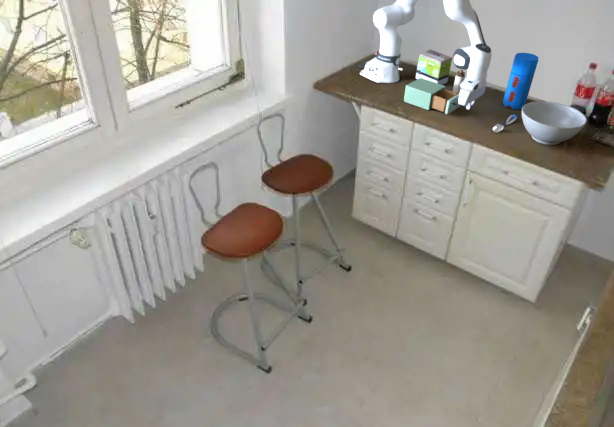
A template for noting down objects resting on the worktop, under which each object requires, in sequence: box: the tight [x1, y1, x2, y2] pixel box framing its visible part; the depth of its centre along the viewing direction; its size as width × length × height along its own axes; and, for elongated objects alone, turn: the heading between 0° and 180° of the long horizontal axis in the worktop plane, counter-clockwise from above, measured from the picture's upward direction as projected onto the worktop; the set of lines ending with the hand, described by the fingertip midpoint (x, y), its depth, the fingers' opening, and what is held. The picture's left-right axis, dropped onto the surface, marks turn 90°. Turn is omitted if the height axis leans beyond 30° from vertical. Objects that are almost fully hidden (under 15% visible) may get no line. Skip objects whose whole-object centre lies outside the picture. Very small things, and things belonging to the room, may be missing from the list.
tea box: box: [415, 49, 453, 85], centre depth 282 cm, size 15×10×15 cm, turn 41°
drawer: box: [430, 88, 463, 115], centre depth 255 cm, size 18×12×7 cm
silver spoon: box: [492, 114, 518, 134], centre depth 244 cm, size 20×4×5 cm
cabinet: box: [403, 78, 446, 111], centre depth 262 cm, size 15×14×9 cm
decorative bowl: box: [521, 100, 588, 146], centre depth 232 cm, size 27×27×12 cm
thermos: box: [502, 52, 539, 110], centre depth 257 cm, size 11×11×25 cm
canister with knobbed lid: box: [451, 69, 466, 95], centre depth 266 cm, size 5×5×14 cm
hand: (469, 108), depth 249 cm, fingers closed
